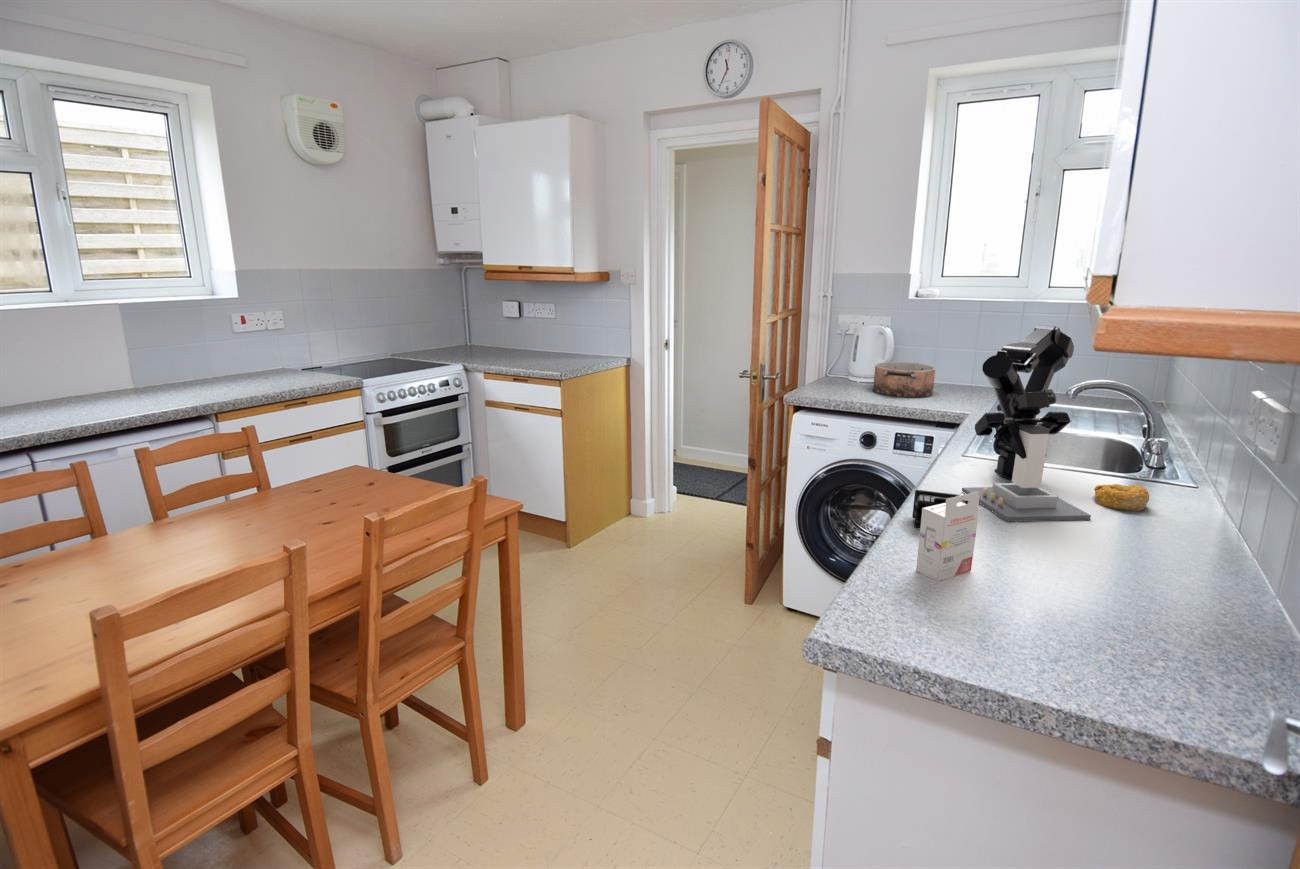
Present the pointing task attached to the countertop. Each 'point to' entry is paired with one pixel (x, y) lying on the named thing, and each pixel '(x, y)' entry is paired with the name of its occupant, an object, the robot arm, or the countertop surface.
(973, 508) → the ink cartridge box
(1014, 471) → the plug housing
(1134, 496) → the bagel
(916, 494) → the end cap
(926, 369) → the cooking pot
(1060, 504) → the header dock
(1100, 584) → the countertop surface
